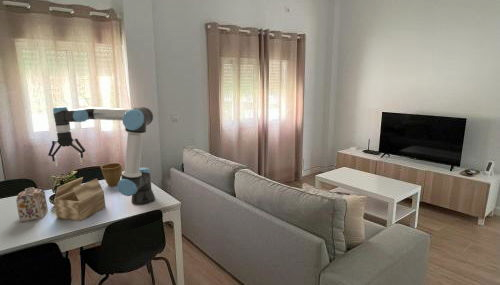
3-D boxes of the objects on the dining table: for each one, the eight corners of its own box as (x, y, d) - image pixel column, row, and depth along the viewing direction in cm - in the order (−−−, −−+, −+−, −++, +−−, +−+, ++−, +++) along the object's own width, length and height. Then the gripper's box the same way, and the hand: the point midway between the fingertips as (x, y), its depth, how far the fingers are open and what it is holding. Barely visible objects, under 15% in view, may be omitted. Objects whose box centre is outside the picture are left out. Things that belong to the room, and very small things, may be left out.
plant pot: (106, 182, 245) (104, 163, 241) (126, 181, 246) (124, 162, 243) (100, 189, 230) (97, 168, 227) (120, 188, 232) (118, 168, 228)
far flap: (55, 198, 181) (54, 198, 181) (80, 187, 198) (79, 187, 198) (58, 187, 178) (57, 187, 178) (82, 177, 196) (82, 177, 196)
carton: (106, 206, 198) (104, 189, 195) (80, 221, 178) (78, 202, 175) (83, 204, 202) (81, 187, 200) (56, 218, 182) (53, 199, 180)
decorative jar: (41, 219, 182) (37, 190, 178) (19, 221, 179) (13, 193, 175) (48, 211, 193) (44, 184, 189) (27, 213, 190) (22, 186, 186)
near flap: (102, 189, 194) (102, 189, 194) (78, 201, 176) (79, 200, 176) (96, 178, 193) (96, 178, 193) (72, 188, 176) (72, 188, 176)
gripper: (86, 128, 197) (91, 160, 201) (41, 132, 187) (47, 166, 191) (85, 130, 190) (90, 163, 194) (38, 134, 180) (44, 169, 185)
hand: (69, 164), depth 193 cm, fingers open, 13 cm apart
